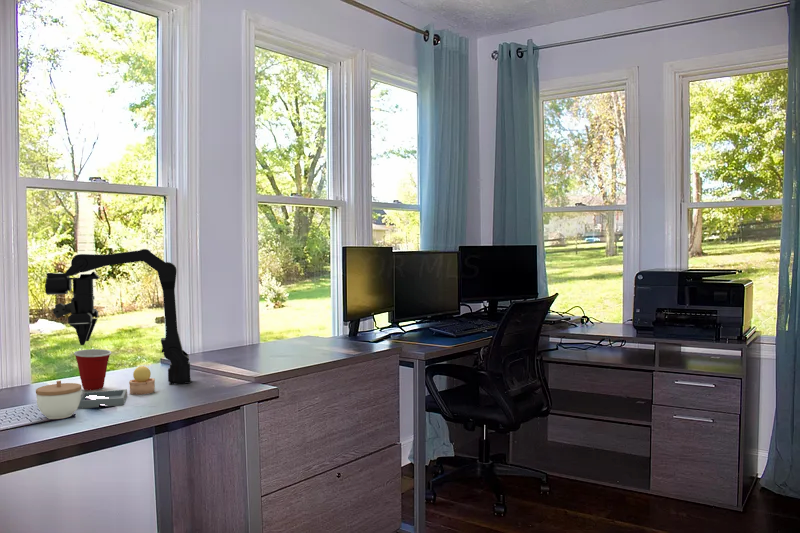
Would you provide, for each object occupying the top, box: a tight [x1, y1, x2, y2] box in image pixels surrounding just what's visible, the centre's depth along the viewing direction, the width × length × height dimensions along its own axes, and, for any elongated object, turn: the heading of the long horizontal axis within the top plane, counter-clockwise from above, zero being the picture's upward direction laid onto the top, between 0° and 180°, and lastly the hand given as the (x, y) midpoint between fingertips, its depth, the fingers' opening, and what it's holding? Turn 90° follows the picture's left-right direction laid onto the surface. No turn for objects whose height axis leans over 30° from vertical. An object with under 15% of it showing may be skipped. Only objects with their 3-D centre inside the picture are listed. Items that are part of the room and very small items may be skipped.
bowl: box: [128, 377, 156, 396], centre depth 198 cm, size 7×7×4 cm
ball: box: [132, 365, 151, 382], centre depth 198 cm, size 5×5×5 cm
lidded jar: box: [35, 380, 82, 420], centre depth 170 cm, size 11×11×9 cm
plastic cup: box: [73, 348, 112, 391], centre depth 204 cm, size 11×11×12 cm
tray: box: [77, 389, 128, 410], centre depth 185 cm, size 12×12×2 cm
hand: (84, 343), depth 203 cm, fingers open, 9 cm apart
